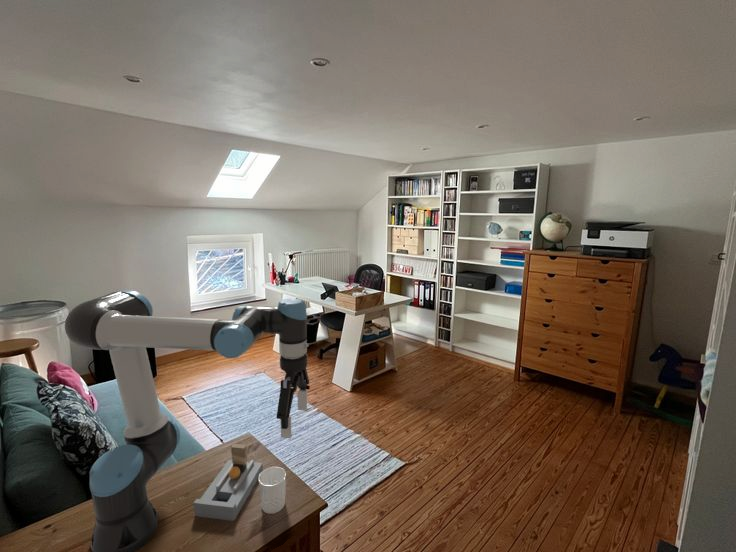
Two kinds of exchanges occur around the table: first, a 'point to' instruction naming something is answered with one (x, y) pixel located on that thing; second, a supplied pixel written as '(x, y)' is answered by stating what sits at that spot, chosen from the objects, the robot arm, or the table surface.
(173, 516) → the table surface
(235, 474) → the ball
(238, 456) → the tan block
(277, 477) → the white cup
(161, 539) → the table surface
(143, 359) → the robot arm
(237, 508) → the board
